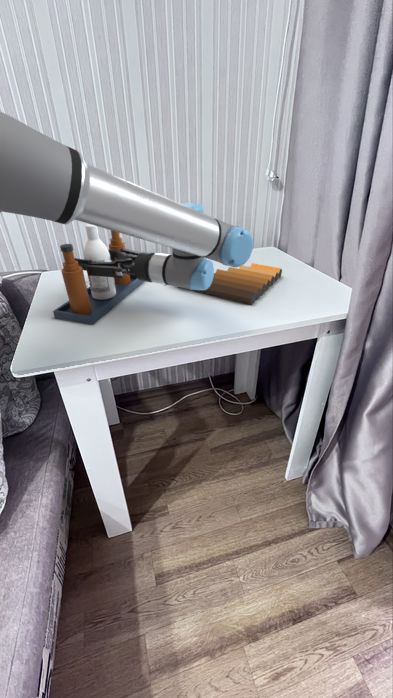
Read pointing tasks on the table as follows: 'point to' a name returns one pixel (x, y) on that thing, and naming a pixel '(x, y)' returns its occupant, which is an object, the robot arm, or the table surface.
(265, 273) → the pan flute
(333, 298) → the table surface
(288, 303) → the table surface
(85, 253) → the bath foam
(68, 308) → the tray
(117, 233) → the amber bottle far
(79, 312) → the amber bottle near
